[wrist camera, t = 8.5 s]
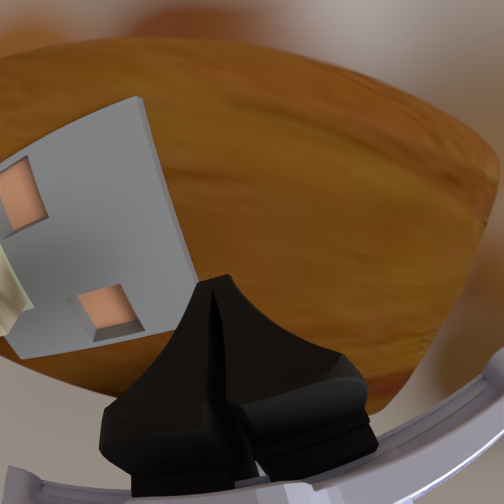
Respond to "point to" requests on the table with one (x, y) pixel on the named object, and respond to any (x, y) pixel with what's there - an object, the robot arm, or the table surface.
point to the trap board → (92, 236)
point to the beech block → (9, 299)
